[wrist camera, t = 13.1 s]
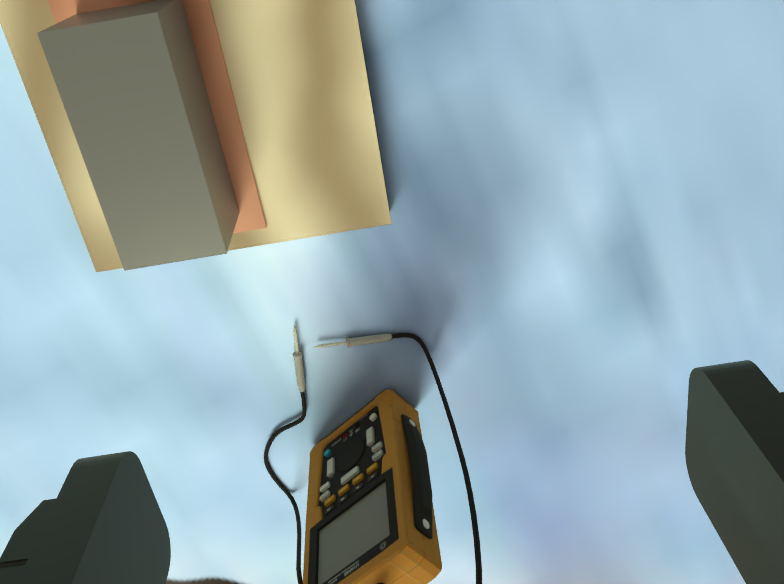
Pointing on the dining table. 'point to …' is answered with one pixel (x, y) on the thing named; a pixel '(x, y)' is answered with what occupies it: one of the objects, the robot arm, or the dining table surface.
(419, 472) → the multimeter
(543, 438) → the dining table surface
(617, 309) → the dining table surface
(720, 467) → the robot arm
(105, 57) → the block
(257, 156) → the board
